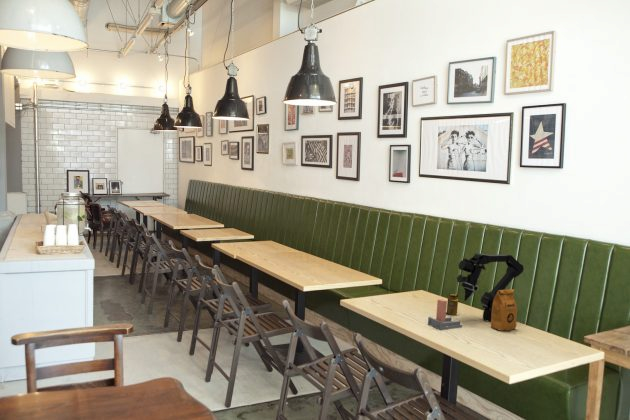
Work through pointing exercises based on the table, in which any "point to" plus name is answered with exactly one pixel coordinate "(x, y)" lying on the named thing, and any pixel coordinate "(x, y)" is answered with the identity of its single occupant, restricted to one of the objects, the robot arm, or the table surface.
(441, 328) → the track housing
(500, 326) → the coffee package
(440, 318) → the tall terracotta column
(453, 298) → the condiment
